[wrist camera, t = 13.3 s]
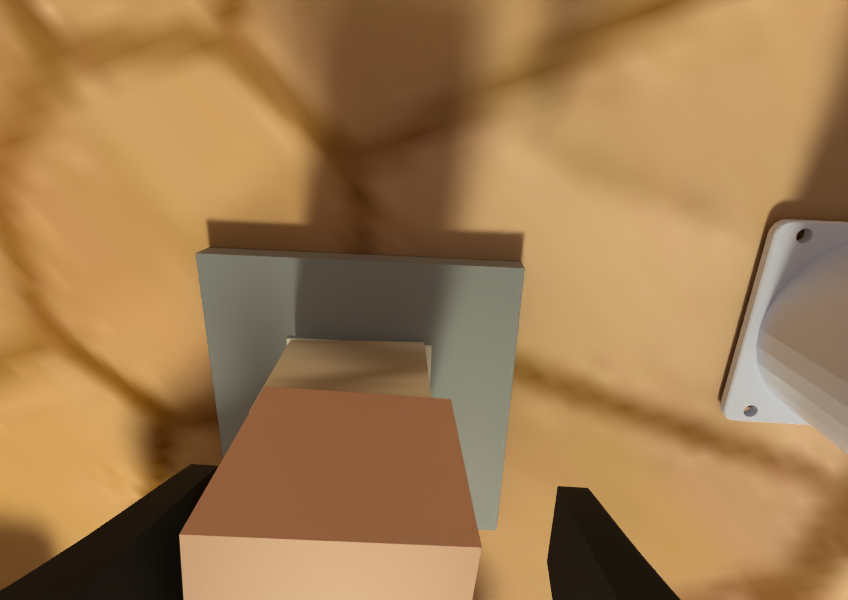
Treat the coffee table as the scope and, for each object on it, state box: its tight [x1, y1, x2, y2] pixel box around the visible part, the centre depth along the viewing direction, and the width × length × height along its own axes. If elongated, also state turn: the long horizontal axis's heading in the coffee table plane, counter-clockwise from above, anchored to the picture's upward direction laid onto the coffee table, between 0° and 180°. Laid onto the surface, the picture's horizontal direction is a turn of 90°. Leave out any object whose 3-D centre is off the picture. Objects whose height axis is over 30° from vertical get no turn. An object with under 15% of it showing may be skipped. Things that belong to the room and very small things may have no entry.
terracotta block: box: [179, 386, 482, 600], centre depth 11 cm, size 5×5×5 cm
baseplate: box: [196, 247, 525, 531], centre depth 19 cm, size 12×12×1 cm
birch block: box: [249, 340, 432, 413], centre depth 16 cm, size 5×5×5 cm
